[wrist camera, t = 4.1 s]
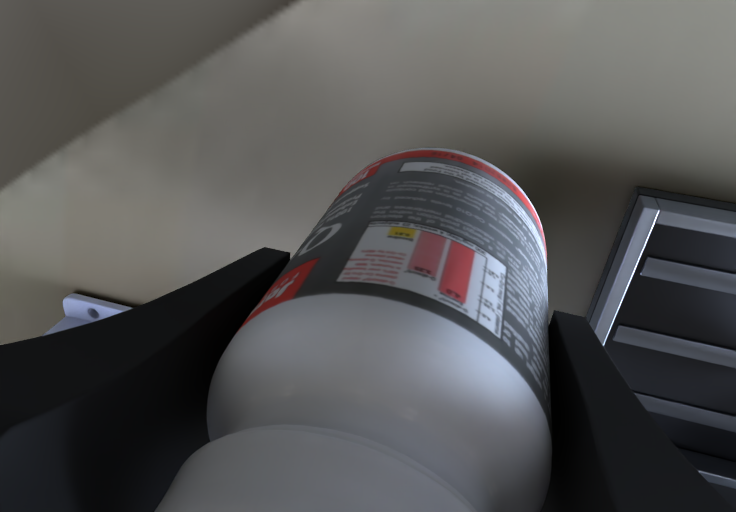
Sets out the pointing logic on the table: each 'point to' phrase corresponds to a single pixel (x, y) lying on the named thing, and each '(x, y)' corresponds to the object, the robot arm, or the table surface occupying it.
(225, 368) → the pill bottle
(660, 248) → the drip tray
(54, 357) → the robot arm
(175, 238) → the table surface
